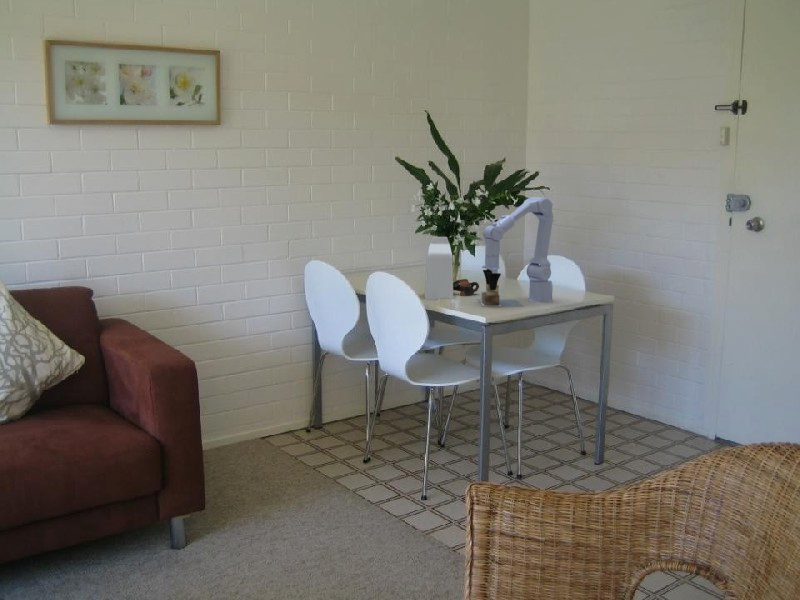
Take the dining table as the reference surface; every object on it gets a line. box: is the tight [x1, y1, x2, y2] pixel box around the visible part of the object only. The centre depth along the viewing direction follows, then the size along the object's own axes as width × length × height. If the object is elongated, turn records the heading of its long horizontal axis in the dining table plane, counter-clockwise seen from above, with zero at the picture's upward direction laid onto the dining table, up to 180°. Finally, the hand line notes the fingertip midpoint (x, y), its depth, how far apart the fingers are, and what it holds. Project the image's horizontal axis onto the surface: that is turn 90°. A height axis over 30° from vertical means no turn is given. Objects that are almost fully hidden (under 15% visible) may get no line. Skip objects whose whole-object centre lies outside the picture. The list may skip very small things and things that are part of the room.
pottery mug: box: [453, 278, 480, 297], centre depth 391 cm, size 12×10×8 cm
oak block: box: [485, 283, 500, 296], centre depth 366 cm, size 4×4×4 cm
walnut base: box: [481, 292, 501, 306], centre depth 367 cm, size 6×6×4 cm
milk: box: [424, 236, 454, 300], centre depth 383 cm, size 12×12×26 cm
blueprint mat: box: [476, 298, 525, 308], centre depth 371 cm, size 17×18×1 cm
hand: (491, 288), depth 366 cm, fingers open, 7 cm apart
